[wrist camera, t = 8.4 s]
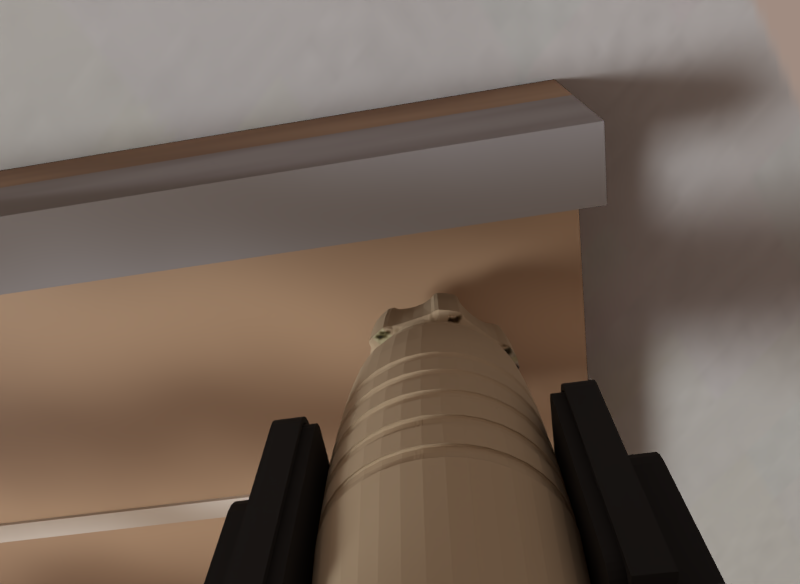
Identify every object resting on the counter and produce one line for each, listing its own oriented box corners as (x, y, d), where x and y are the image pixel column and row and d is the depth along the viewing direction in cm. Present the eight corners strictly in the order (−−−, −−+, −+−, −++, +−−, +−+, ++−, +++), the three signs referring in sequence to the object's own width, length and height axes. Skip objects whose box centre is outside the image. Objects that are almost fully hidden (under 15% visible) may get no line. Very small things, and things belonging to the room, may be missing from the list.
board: (582, 532, 21) (622, 665, 17) (-117, 607, 24) (-227, 741, 19) (554, 79, 15) (604, 120, 11) (-381, 233, 18) (-621, 315, 13)
